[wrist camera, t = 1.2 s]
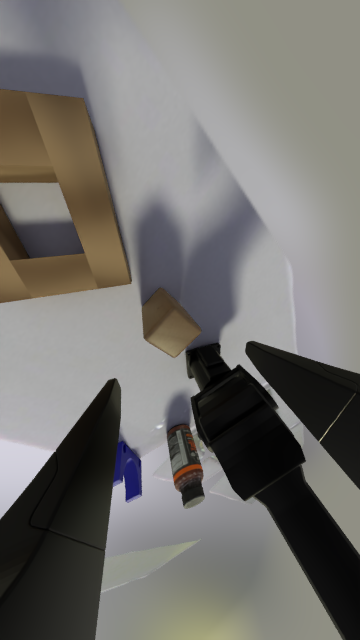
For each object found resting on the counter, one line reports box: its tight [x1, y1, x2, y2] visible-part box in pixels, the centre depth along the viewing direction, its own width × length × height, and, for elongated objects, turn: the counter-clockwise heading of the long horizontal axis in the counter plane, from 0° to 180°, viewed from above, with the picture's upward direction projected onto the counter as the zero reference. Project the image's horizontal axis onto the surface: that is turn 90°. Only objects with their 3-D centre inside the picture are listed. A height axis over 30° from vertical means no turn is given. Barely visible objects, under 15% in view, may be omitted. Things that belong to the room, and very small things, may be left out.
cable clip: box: [113, 441, 142, 503], centre depth 29 cm, size 12×4×6 cm, turn 12°
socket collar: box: [0, 89, 132, 303], centre depth 11 cm, size 12×12×2 cm
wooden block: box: [142, 288, 201, 358], centre depth 15 cm, size 4×4×8 cm
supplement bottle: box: [167, 425, 205, 509], centre depth 29 cm, size 6×6×11 cm
